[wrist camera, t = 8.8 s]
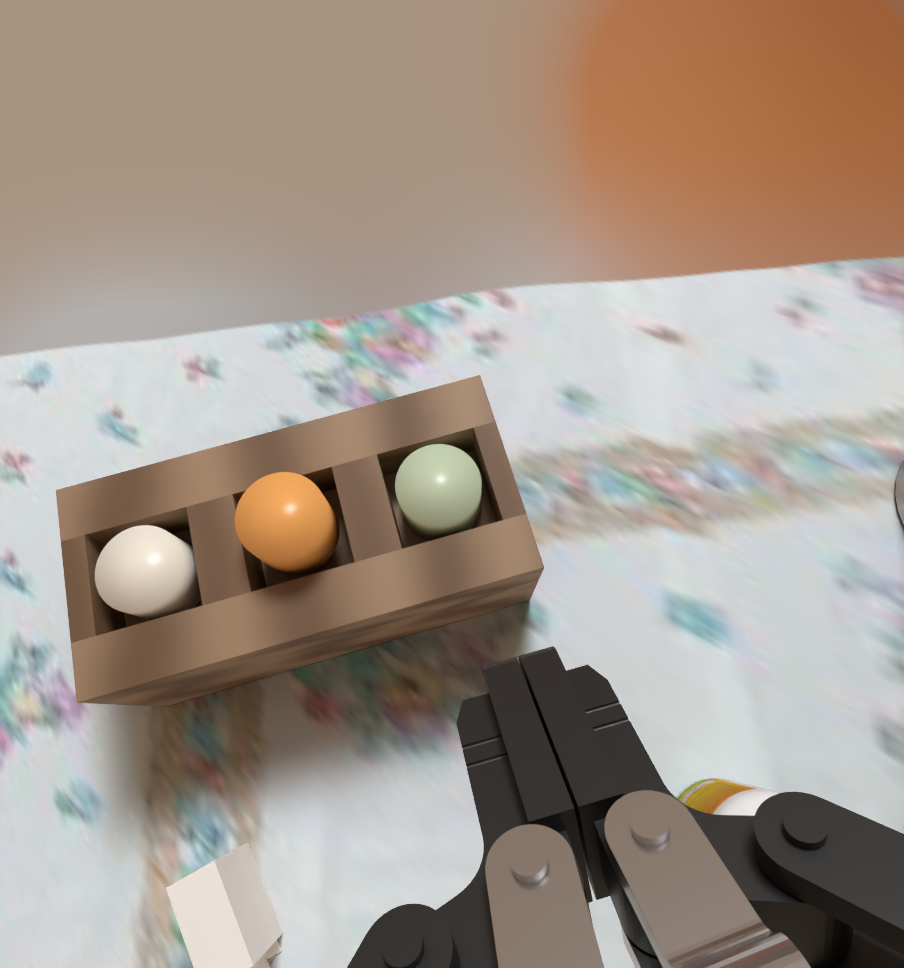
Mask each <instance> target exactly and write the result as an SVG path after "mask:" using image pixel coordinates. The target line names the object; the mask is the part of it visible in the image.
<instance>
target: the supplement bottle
mask: <svg viewBox="0 0 904 968" xmlns="http://www.w3.org/2000/svg"><path fill="white" fill-rule="evenodd" d="M776 794H779V792H775V791H772V790H767V789H763V788H759V787H755V786H751V785H747V784H743V783H739V782H735V781H731V780H726V779H719V778H709V779H703V780H699V781H697V782H694V783H692V784H690V785H689V786H687V787H686V788H685V789H683V790H682V791H681V792H680V793H679V794H678V796H677V797H676V798H677V799H678V800H679V801H681V802H682V803H684V804H685V805H687V806H689V807H691V808H693V809H695V810H698V811H701V812H704V813H709V814H716V815H748V816H755V813H756V811H757V809H758V807H759V806H760V805H761V804H762V803H763V802H764V801H765V800H766V799H768V798H770V797H771V796H774V795H776Z"/></svg>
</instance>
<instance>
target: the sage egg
mask: <svg viewBox="0 0 904 968" xmlns="http://www.w3.org/2000/svg"><path fill="white" fill-rule="evenodd" d="M481 488H482V482H481V476H480V472H479V469H478V467H477V465H476V464H475V462H474V461H473V459H472V458H471V457H470V456H469V455H468V454H466V453H465V452H464V451H462V450H460V449H459V448H456V447H454V446H450V445H445V444H433V445H428V446H425V447H422V448H420V449H418V450H416V451H414V452H413V453H411V454H410V455H409V456H408V457H407V458H406V459H405V460H404V461H403V463H402V464H401V466H400V468H399V470H398V472H397V475H396V480H395V492H396V496H397V499H398V502H399V505H400V508H401V510H402V513H403V516H404V519H405V521H406V523H407V524H408V526H409V527H410V528H411V529H412V531H413V532H415V533H416V534H417V535H419V536H420V537H422V538H424V539H426V540H429V541H432V540H435V539H439V538H442V537H446V536H449V535H453V534H456V533H460V532H463V531H467V530H470V529H472V527H473V526H474V525H475V523H476V522H477V520H478V518H479V515H480V511H481Z"/></svg>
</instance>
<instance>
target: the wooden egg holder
mask: <svg viewBox="0 0 904 968" xmlns="http://www.w3.org/2000/svg"><path fill="white" fill-rule="evenodd" d="M433 444H445V445H450V446H454V447H456V448H459V449H460V450H462V451H464V452H465V453H466V454H468V455H469V456H470V457H471V458H472V459H473V461H474V462H475V464H476V465H477V467H478V469H479V472H480V476H481V482H482V488H481V511H480V515H479V518H478V520H477V522H476V523H475V525H474V526H473V527H472V529H470V530H467V531H463V532H460V533H456V534H453V535H449V536H446V537H442V538H439V539H435V540H432V541H429V540H426V539H424V538H422V537H420V536H419V535H417V534H416V533H415V532H413V531H412V529H411V528H410V527H409V526H408V524H407V523H406V521H405V519H404V516H403V513H402V510H401V508H400V505H399V502H398V499H397V496H396V492H395V480H396V475H397V472H398V470H399V468H400V466H401V464H402V463H403V461H404V460H405V459H406V458H407V457H408V456H409V455H410V454H411V453H413V452H414V451H416V450H418V449H420V448H422V447H425V446H428V445H433ZM278 472H291V473H296V474H300V475H302V476H304V477H306V478H308V479H309V480H311V481H312V482H313V483H314V484H315V485H316V486H317V487H318V488H319V490H320V491H321V492H322V494H323V495H324V497H325V498H326V500H327V501H328V503H329V504H330V506H331V507H332V509H333V510H334V512H335V513H336V516H337V518H338V521H339V529H340V533H339V540H338V543H337V546H336V548H335V550H334V552H333V554H332V555H331V557H330V558H329V559H328V560H327V561H326V562H325V563H324V564H323V565H322V566H320V567H319V568H317V569H315V570H313V571H311V572H308V573H305V574H299V575H289V574H284V573H281V572H278V571H276V570H274V569H273V568H271V567H270V566H268V565H267V564H266V563H264V562H263V561H262V560H260V559H259V558H257V557H256V556H255V555H253V554H252V553H251V552H249V551H248V550H247V549H246V548H245V547H244V545H243V544H242V543H241V541H240V540H239V537H238V535H237V532H236V528H235V513H236V508H237V505H238V503H239V500H240V499H241V497H242V495H243V494H244V492H245V491H246V490H247V489H248V488H249V487H250V486H251V485H252V484H253V483H254V482H256V481H257V480H259V479H260V478H262V477H264V476H267V475H270V474H273V473H278ZM56 496H57V506H58V516H59V526H60V537H61V547H62V557H63V567H64V577H65V587H66V597H67V607H68V617H69V627H70V638H71V648H72V658H73V668H74V678H75V688H76V698H77V703H98V704H121V705H144V706H170V705H173V704H176V703H180V702H183V701H187V700H190V699H194V698H197V697H200V696H204V695H207V694H211V693H214V692H217V691H221V690H224V689H228V688H231V687H235V686H238V685H241V684H245V683H248V682H252V681H255V680H259V679H262V678H265V677H269V676H272V675H276V674H279V673H283V672H286V671H289V670H293V669H296V668H300V667H303V666H306V665H310V664H313V663H317V662H320V661H324V660H327V659H330V658H334V657H337V656H341V655H344V654H348V653H351V652H354V651H358V650H361V649H365V648H368V647H372V646H375V645H378V644H382V643H385V642H389V641H392V640H395V639H399V638H402V637H406V636H409V635H413V634H416V633H419V632H423V631H426V630H430V629H433V628H437V627H440V626H443V625H447V624H450V623H454V622H457V621H461V620H464V619H467V618H471V617H474V616H478V615H481V614H484V613H488V612H491V611H495V610H498V609H502V608H505V607H508V606H512V605H515V604H519V603H522V602H526V601H529V600H530V598H531V596H532V594H533V592H534V589H535V587H536V585H537V582H538V580H539V578H540V575H541V573H542V571H543V569H544V566H543V563H542V560H541V557H540V554H539V551H538V548H537V545H536V542H535V539H534V536H533V533H532V530H531V527H530V524H529V521H528V518H527V515H526V512H525V509H524V506H523V503H522V500H521V497H520V494H519V491H518V488H517V485H516V482H515V479H514V476H513V473H512V470H511V467H510V464H509V461H508V458H507V455H506V452H505V449H504V446H503V443H502V440H501V437H500V434H499V431H498V428H497V425H496V422H495V419H494V416H493V413H492V410H491V407H490V404H489V401H488V398H487V395H486V392H485V389H484V386H483V383H482V380H481V377H480V375H478V376H475V377H471V378H467V379H464V380H460V381H456V382H453V383H449V384H445V385H442V386H438V387H434V388H431V389H427V390H423V391H420V392H416V393H412V394H408V395H405V396H401V397H397V398H394V399H390V400H386V401H383V402H379V403H375V404H372V405H368V406H364V407H361V408H357V409H353V410H350V411H346V412H342V413H339V414H335V415H331V416H328V417H324V418H320V419H316V420H313V421H309V422H305V423H302V424H298V425H294V426H291V427H287V428H283V429H280V430H276V431H272V432H269V433H265V434H261V435H258V436H254V437H250V438H247V439H243V440H239V441H235V442H232V443H228V444H224V445H221V446H217V447H213V448H210V449H206V450H202V451H199V452H195V453H191V454H188V455H184V456H180V457H177V458H173V459H169V460H166V461H162V462H158V463H155V464H151V465H147V466H143V467H140V468H136V469H132V470H129V471H125V472H121V473H118V474H114V475H110V476H107V477H103V478H99V479H96V480H92V481H88V482H85V483H81V484H77V485H74V486H70V487H66V488H63V489H59V490H56ZM141 525H151V526H156V527H159V528H162V529H164V530H166V531H167V532H169V533H171V534H172V535H174V536H176V537H177V538H179V539H181V540H182V541H184V542H185V543H187V544H189V545H190V546H192V547H193V551H194V557H195V563H196V569H197V575H198V582H199V588H200V594H201V600H200V601H199V602H198V604H197V605H196V606H195V607H194V608H193V609H189V610H186V611H182V612H179V613H175V614H172V615H168V616H165V617H161V618H157V619H154V620H148V619H145V618H141V617H138V616H135V615H132V614H128V613H125V612H122V611H119V610H116V609H114V608H112V607H111V606H109V605H108V604H107V603H106V602H105V601H104V600H103V599H102V598H101V596H100V595H99V593H98V590H97V587H96V583H95V568H96V563H97V560H98V558H99V556H100V553H101V552H102V550H103V549H104V547H105V546H106V545H107V543H108V542H109V541H110V540H111V539H112V538H113V537H115V536H116V535H117V534H119V533H121V532H122V531H124V530H126V529H129V528H132V527H135V526H141Z"/></svg>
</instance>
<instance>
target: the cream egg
mask: <svg viewBox="0 0 904 968" xmlns="http://www.w3.org/2000/svg"><path fill="white" fill-rule="evenodd" d="M95 583H96V587H97V590H98V593H99V595H100V596H101V598H102V599H103V600H104V601H105V602H106V603H107V604H108V605H109V606H111V607H112V608H114V609H116V610H119V611H122V612H125V613H128V614H132V615H135V616H138V617H141V618H145V619H148V620H154V619H157V618H161V617H165V616H168V615H172V614H175V613H179V612H182V611H186V610H189V609H193V608H194V607H195V606H196V605H197V604H198V602H199V601H200V600H201V594H200V588H199V582H198V575H197V569H196V563H195V557H194V551H193V547H192V546H190V545H189V544H187V543H185V542H184V541H182V540H181V539H179V538H177V537H176V536H174V535H172V534H171V533H169V532H167V531H166V530H164V529H162V528H159V527H156V526H151V525H141V526H135V527H132V528H129V529H126V530H124V531H122V532H121V533H119V534H117V535H116V536H115V537H113V538H112V539H111V540H110V541H109V542H108V543H107V545H106V546H105V547H104V549H103V550H102V552H101V553H100V556H99V558H98V560H97V563H96V568H95Z"/></svg>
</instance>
